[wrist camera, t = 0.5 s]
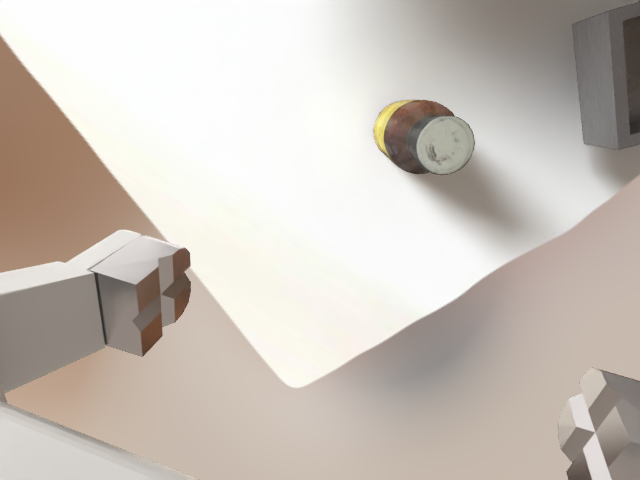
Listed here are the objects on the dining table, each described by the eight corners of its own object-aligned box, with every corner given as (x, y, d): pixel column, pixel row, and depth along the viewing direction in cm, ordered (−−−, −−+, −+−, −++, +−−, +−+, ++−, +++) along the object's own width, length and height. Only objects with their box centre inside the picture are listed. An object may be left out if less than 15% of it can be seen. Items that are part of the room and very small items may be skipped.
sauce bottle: (369, 155, 49) (383, 187, 30) (376, 98, 47) (396, 94, 28) (426, 160, 48) (477, 196, 29) (435, 103, 46) (496, 102, 28)
